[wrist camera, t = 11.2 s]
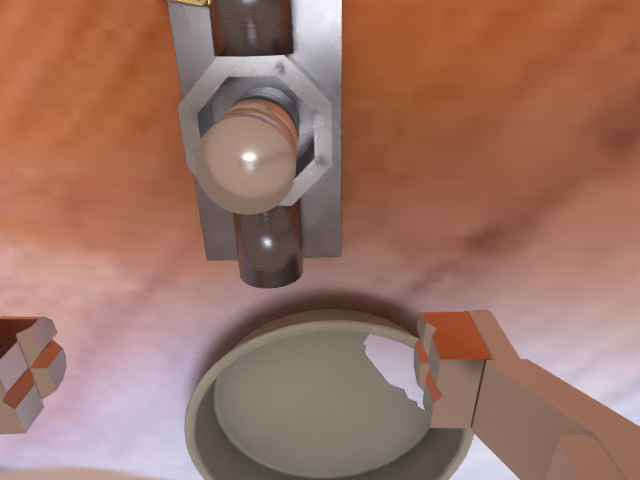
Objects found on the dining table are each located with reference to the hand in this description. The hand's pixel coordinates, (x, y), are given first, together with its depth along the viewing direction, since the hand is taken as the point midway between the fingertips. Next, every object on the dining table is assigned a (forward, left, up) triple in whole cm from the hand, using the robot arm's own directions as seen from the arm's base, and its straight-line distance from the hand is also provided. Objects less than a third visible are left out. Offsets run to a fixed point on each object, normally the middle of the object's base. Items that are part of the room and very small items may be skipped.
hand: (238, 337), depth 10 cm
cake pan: (-3, +25, -22) cm, 34 cm away
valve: (+1, -1, -21) cm, 21 cm away
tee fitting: (+1, -1, -22) cm, 22 cm away
